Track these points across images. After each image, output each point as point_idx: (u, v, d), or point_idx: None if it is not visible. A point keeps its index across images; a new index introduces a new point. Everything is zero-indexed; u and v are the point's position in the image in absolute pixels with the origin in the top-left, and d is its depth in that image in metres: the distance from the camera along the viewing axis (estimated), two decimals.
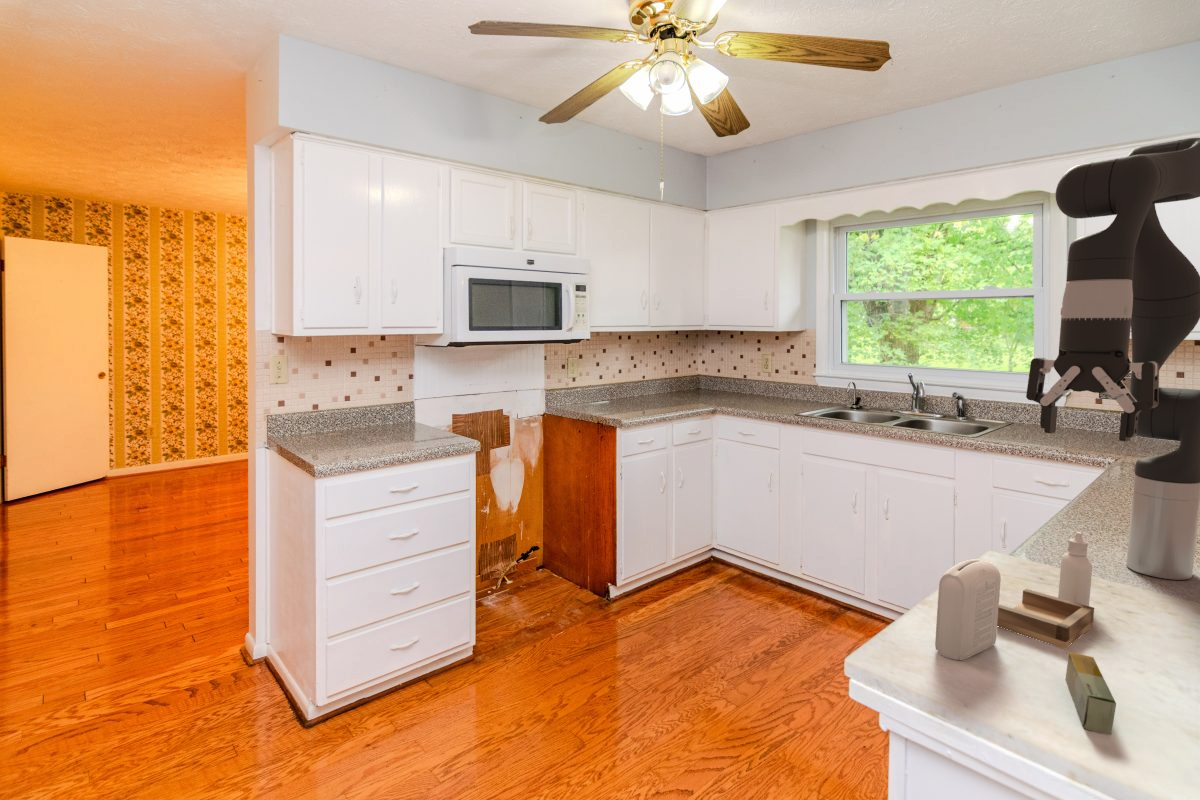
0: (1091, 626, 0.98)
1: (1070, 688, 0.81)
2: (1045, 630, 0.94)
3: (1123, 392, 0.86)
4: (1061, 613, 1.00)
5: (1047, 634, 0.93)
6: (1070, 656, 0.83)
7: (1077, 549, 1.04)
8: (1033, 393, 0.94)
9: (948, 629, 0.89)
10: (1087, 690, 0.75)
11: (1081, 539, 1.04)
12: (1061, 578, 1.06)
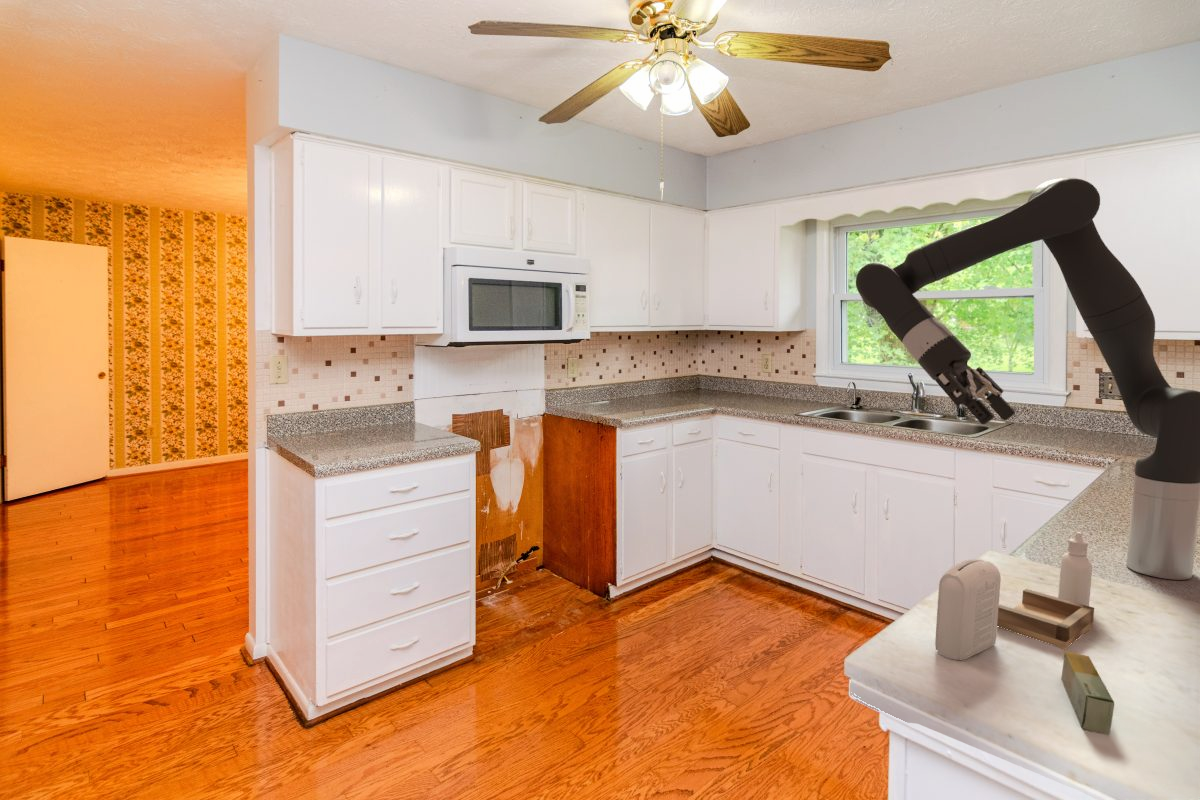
0: (1091, 626, 0.98)
1: (1067, 687, 0.81)
2: (1045, 630, 0.94)
3: (958, 395, 1.14)
4: (1061, 613, 1.00)
5: (1047, 634, 0.93)
6: (1066, 655, 0.83)
7: (1077, 549, 1.04)
8: (987, 396, 1.20)
9: (948, 629, 0.89)
10: (1085, 690, 0.75)
11: (1081, 539, 1.04)
12: (1061, 578, 1.06)
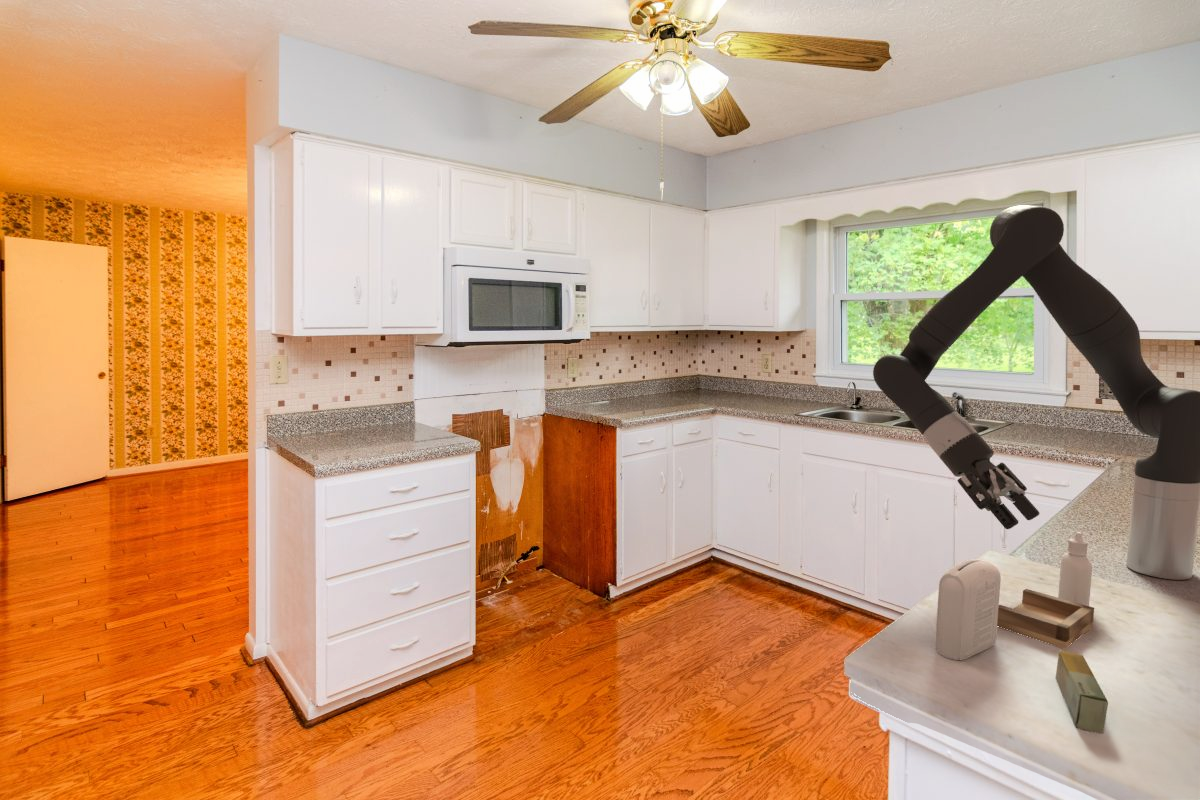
0: (1091, 626, 0.98)
1: (1061, 687, 0.81)
2: (1045, 630, 0.94)
3: (981, 497, 1.12)
4: (1061, 613, 1.00)
5: (1047, 634, 0.93)
6: (1060, 654, 0.83)
7: (1077, 549, 1.04)
8: (1010, 493, 1.18)
9: (948, 629, 0.89)
10: (1079, 689, 0.75)
11: (1081, 539, 1.04)
12: (1061, 578, 1.06)
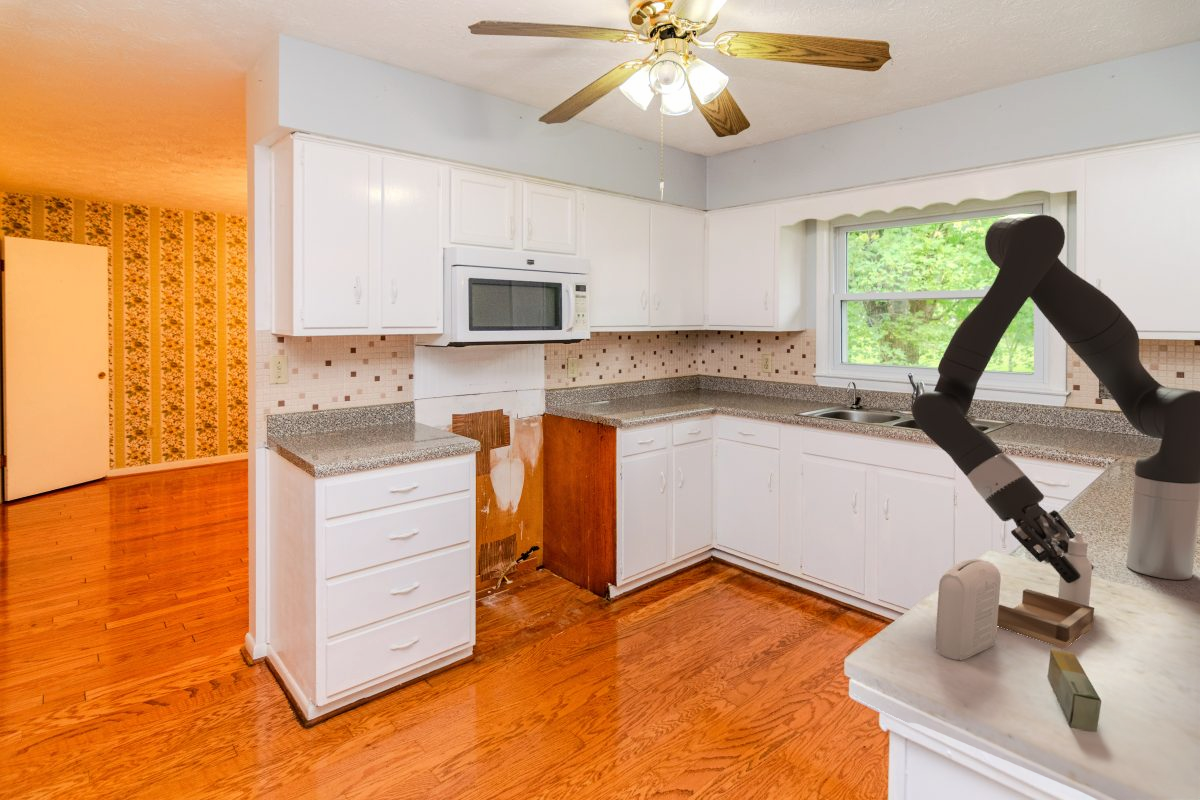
0: (1091, 626, 0.98)
1: (1053, 685, 0.81)
2: (1045, 630, 0.94)
3: (1037, 547, 1.07)
4: (1061, 613, 1.00)
5: (1047, 634, 0.93)
6: (1052, 653, 0.83)
7: (1077, 549, 1.04)
8: None
9: (948, 629, 0.89)
10: (1072, 688, 0.75)
11: (1081, 539, 1.04)
12: (1061, 578, 1.06)
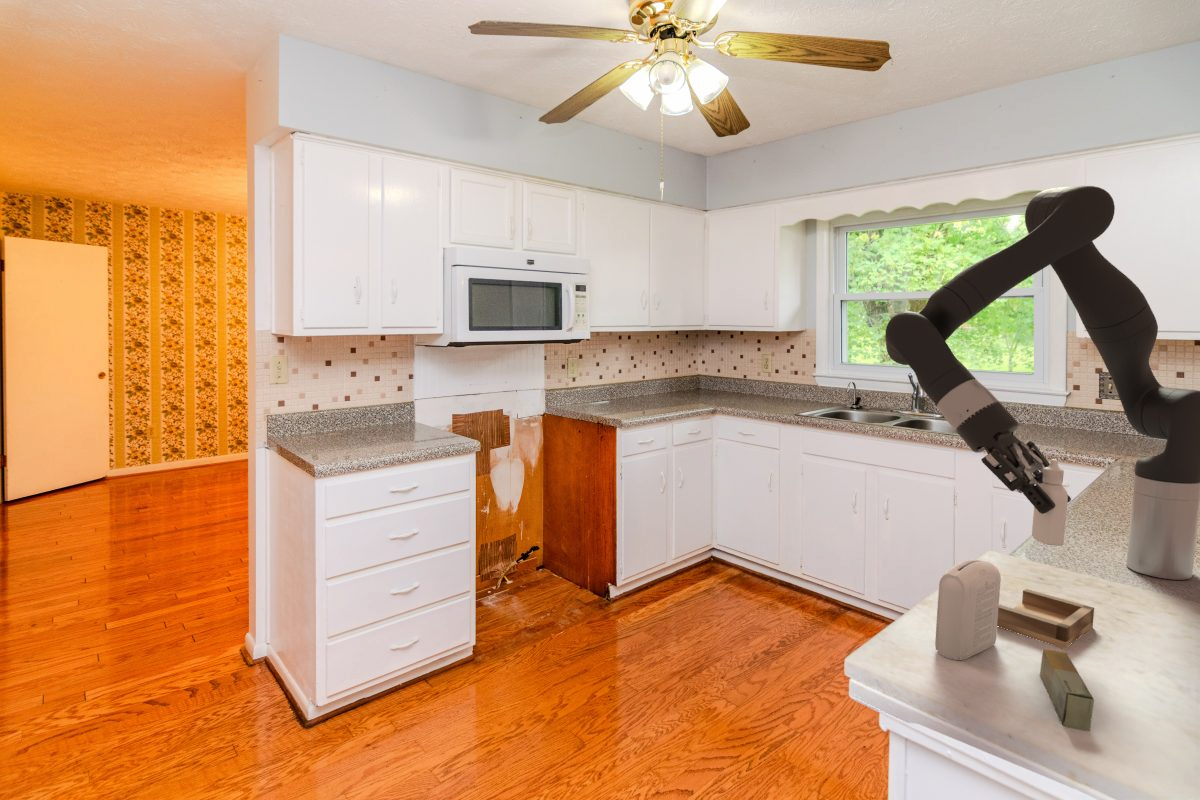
0: (1091, 626, 0.98)
1: (1046, 684, 0.82)
2: (1045, 630, 0.94)
3: (1009, 477, 0.98)
4: (1061, 613, 1.00)
5: (1047, 634, 0.93)
6: (1044, 652, 0.84)
7: (1052, 477, 0.95)
8: (1036, 476, 1.03)
9: (948, 629, 0.89)
10: (1065, 687, 0.75)
11: (1057, 466, 0.96)
12: (1035, 510, 0.98)
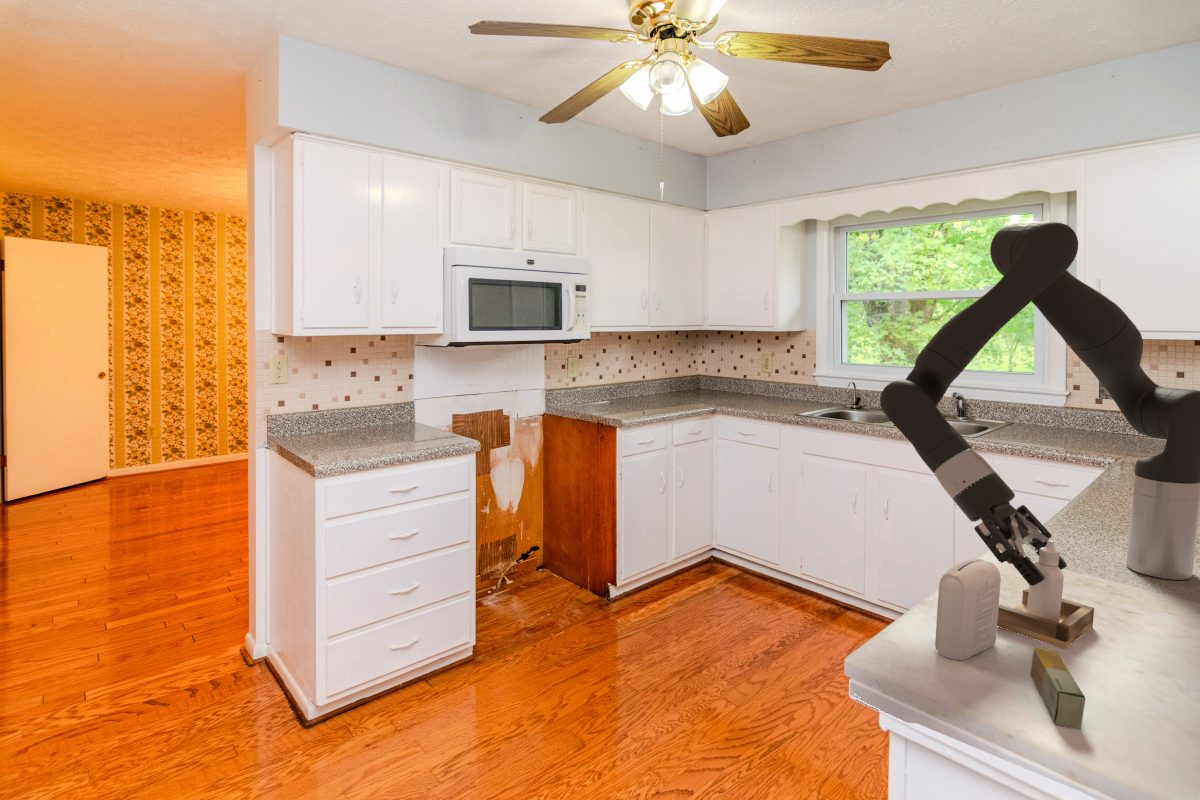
0: (1091, 626, 0.98)
1: (1037, 683, 0.82)
2: (1045, 630, 0.94)
3: (1001, 547, 0.99)
4: (1061, 613, 1.00)
5: (1047, 634, 0.93)
6: (1035, 651, 0.84)
7: (1048, 559, 0.97)
8: None
9: (948, 629, 0.89)
10: (1056, 685, 0.76)
11: (1053, 548, 0.97)
12: (1030, 589, 0.99)
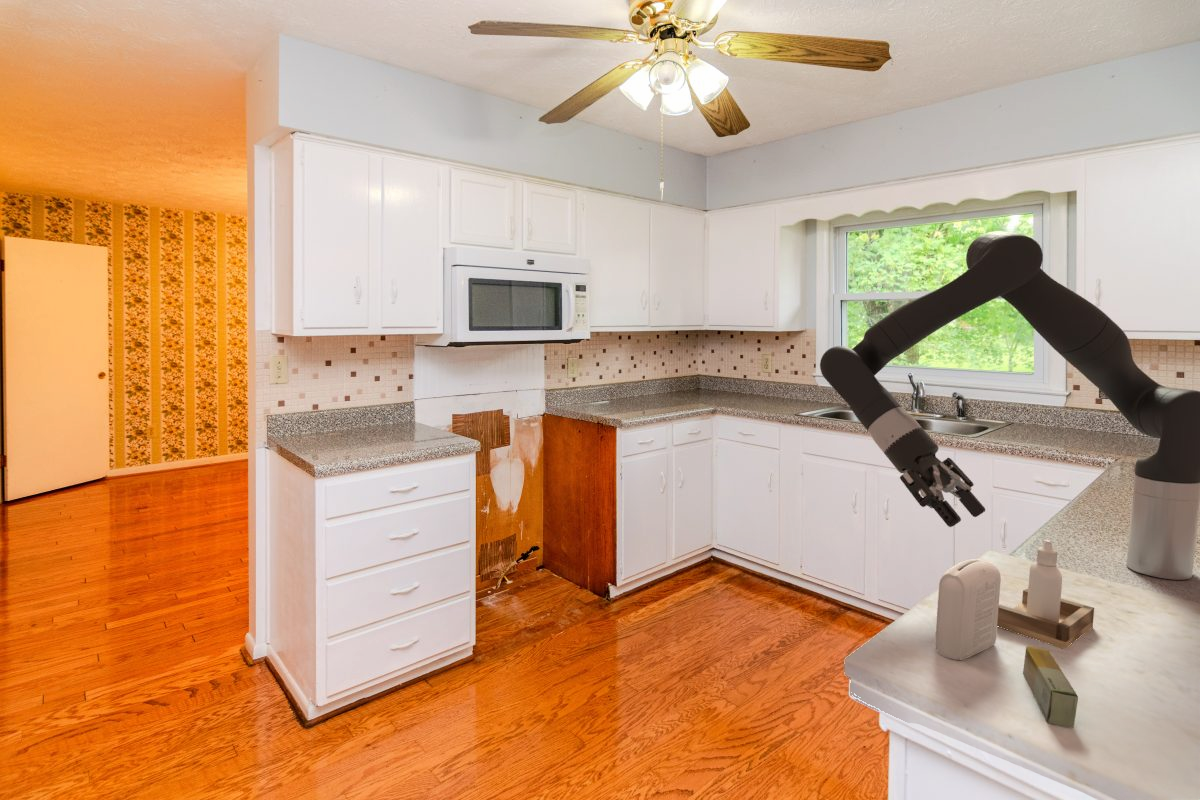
0: (1091, 626, 0.98)
1: (1029, 682, 0.82)
2: (1045, 630, 0.94)
3: (924, 493, 1.09)
4: (1061, 613, 1.00)
5: (1047, 634, 0.93)
6: (1028, 650, 0.84)
7: (1046, 559, 0.97)
8: (957, 489, 1.14)
9: (948, 629, 0.89)
10: (1049, 684, 0.76)
11: (1050, 548, 0.97)
12: (1030, 590, 0.99)
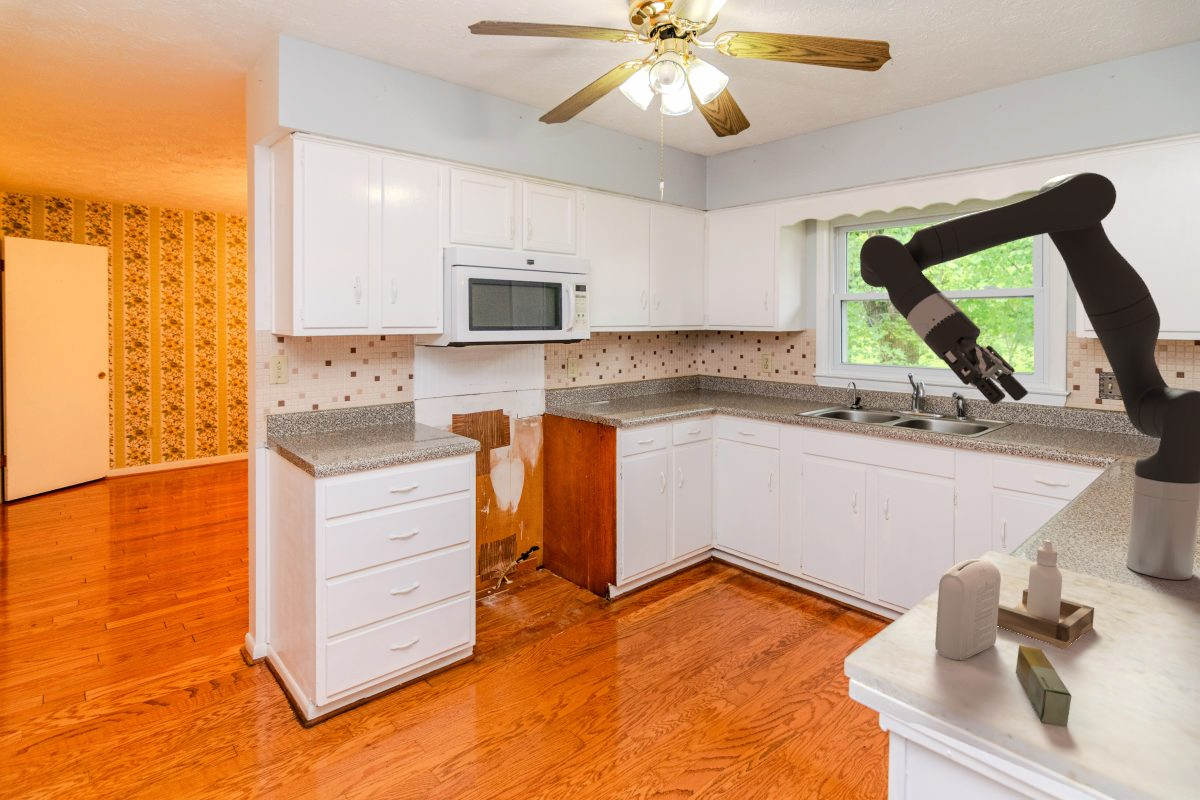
0: (1091, 626, 0.98)
1: (1022, 681, 0.82)
2: (1045, 630, 0.94)
3: (966, 374, 1.07)
4: (1061, 613, 1.00)
5: (1047, 634, 0.93)
6: (1020, 649, 0.85)
7: (1046, 559, 0.97)
8: None
9: (948, 629, 0.89)
10: (1043, 683, 0.76)
11: (1050, 548, 0.97)
12: (1030, 590, 0.99)
